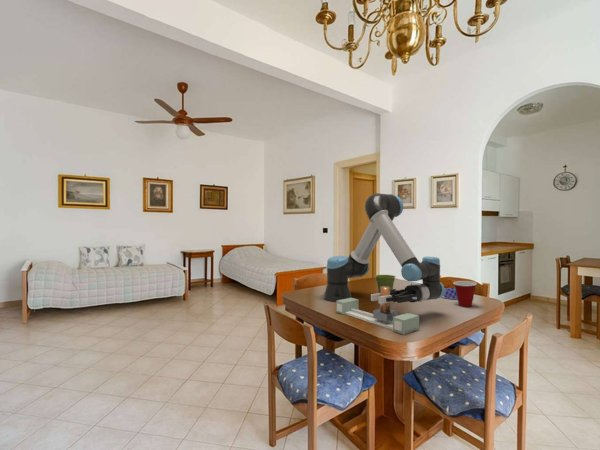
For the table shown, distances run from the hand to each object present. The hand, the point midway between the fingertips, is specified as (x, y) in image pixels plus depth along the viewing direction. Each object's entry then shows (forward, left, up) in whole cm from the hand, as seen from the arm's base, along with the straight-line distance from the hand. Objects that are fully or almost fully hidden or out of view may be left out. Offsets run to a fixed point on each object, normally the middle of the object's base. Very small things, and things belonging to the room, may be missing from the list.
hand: (375, 298), depth 127 cm
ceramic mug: (-20, +62, -11) cm, 66 cm away
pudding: (-6, +73, -11) cm, 74 cm away
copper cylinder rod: (+1, +5, -9) cm, 10 cm away
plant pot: (-31, +47, -11) cm, 58 cm away
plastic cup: (+8, +61, -11) cm, 63 cm away
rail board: (-4, +5, -11) cm, 13 cm away
